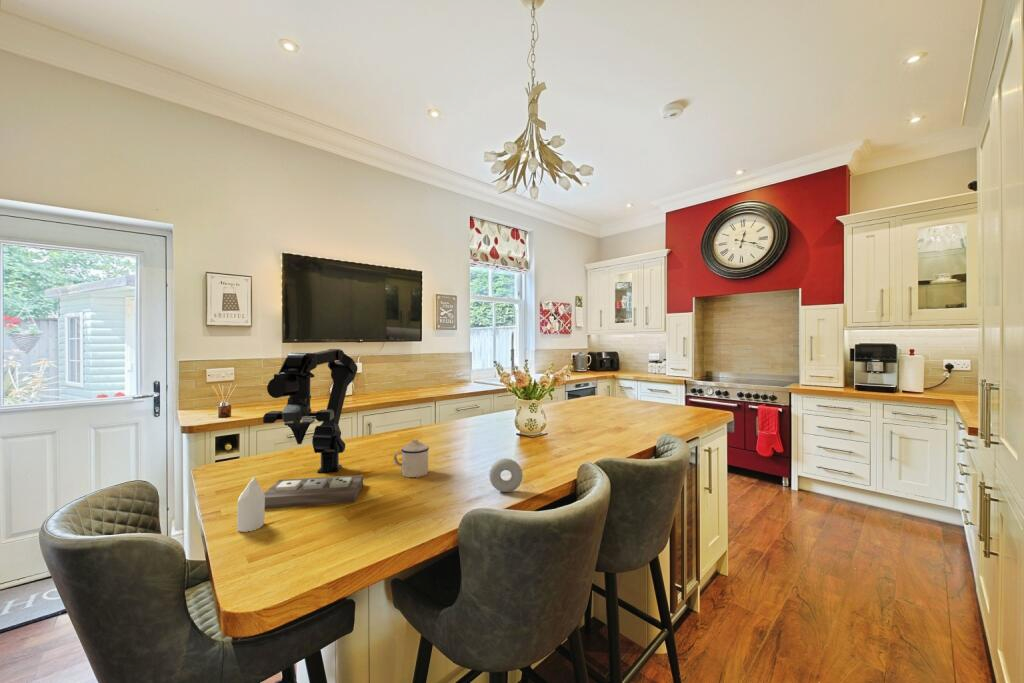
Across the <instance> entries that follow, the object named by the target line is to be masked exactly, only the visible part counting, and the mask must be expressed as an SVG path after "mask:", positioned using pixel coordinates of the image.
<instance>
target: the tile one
mask: <svg viewBox="0 0 1024 683" xmlns="http://www.w3.org/2000/svg"><path fill="white" fill-rule="evenodd" d="M300 485H301V480H294V481H282V482H281V483H280V484H279V485H278V486H277V487H276V491H289V490H297V489H298V488H299V487H300Z"/></svg>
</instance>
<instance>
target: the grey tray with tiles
mask: <svg viewBox="0 0 1024 683" xmlns="http://www.w3.org/2000/svg"><path fill="white" fill-rule="evenodd" d="M346 477H352V483H351V484H350V486H349V487H338V488H330V483H331V482H332V480H333V479H334V478H346ZM310 479H327V484H326V485H325V486H324V488H322V489H306V490H303V485H304V484H305V483H306V482H307V481H308V480H310ZM294 480H301V485H300V487H299V488H298V489H297V490H289V491H276V487H277V486H278V485H279V484H280V483H281V482H282V481H294ZM363 486H364V474H359V475H357V474H356V475H341V476H340V475H339V476H323V477H321V476H320V477H307V478H306V477H303V478H301V477H300V478H285V479H284V478H283V479H278V481H276V482H275V483H274V484H272V486H270V487H269V488H268V489H267V490H266V491H264V492H265V510H266V509H267V508H269V509H280V508H293V507H294V508H295V507H310V506H324V504H327V505H339V504H338V503H341V504H352V503H355V502H356V500H357V498H358V496H359V494H360V492H361V490H362V488H363ZM361 487H362V488H361ZM267 510H268V509H267Z"/></svg>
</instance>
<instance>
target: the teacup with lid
mask: <svg viewBox="0 0 1024 683" xmlns="http://www.w3.org/2000/svg"><path fill="white" fill-rule="evenodd" d="M429 449H430V447H429V445H428V444H426V443H423V442H421V441H419V439H418V438H413V439H412V440H411V442H409V443H407V444H405V445H403V446H402V447H401V450H399V451H396V452H395V453H394V455H393V460H394V463H395V465H396V466H399V467H401V475H402V476H403V477H405V478H409V477H412V479H414V478H413V477H416V478H421V476H422V477H424V476H426V475H427V474H428V473H429ZM398 455H401V463H400V462H399V461H398V458H397V456H398Z"/></svg>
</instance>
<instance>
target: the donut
mask: <svg viewBox="0 0 1024 683" xmlns="http://www.w3.org/2000/svg"><path fill="white" fill-rule="evenodd" d="M504 471H509V472H510V474H511V477H510V478H509V479H507V480H506V479H503V478H502V476H501V474H502V473H503V472H504ZM523 475H524V474H523V470H522V467H521V466H520V464H519V463H517V461H515V460H513V459H511V458H500V459H499V460H496V461H495V462H494V463H493V464H492V466H491V467H490V469H489V481H490V483H491V485H492V487H493V488H494V489H495V490H497V491H498V492H500V493H501V492H502V493H511V492H513V491H515V490H517V489H518V487H520V485H521V483H522V481H523Z"/></svg>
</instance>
